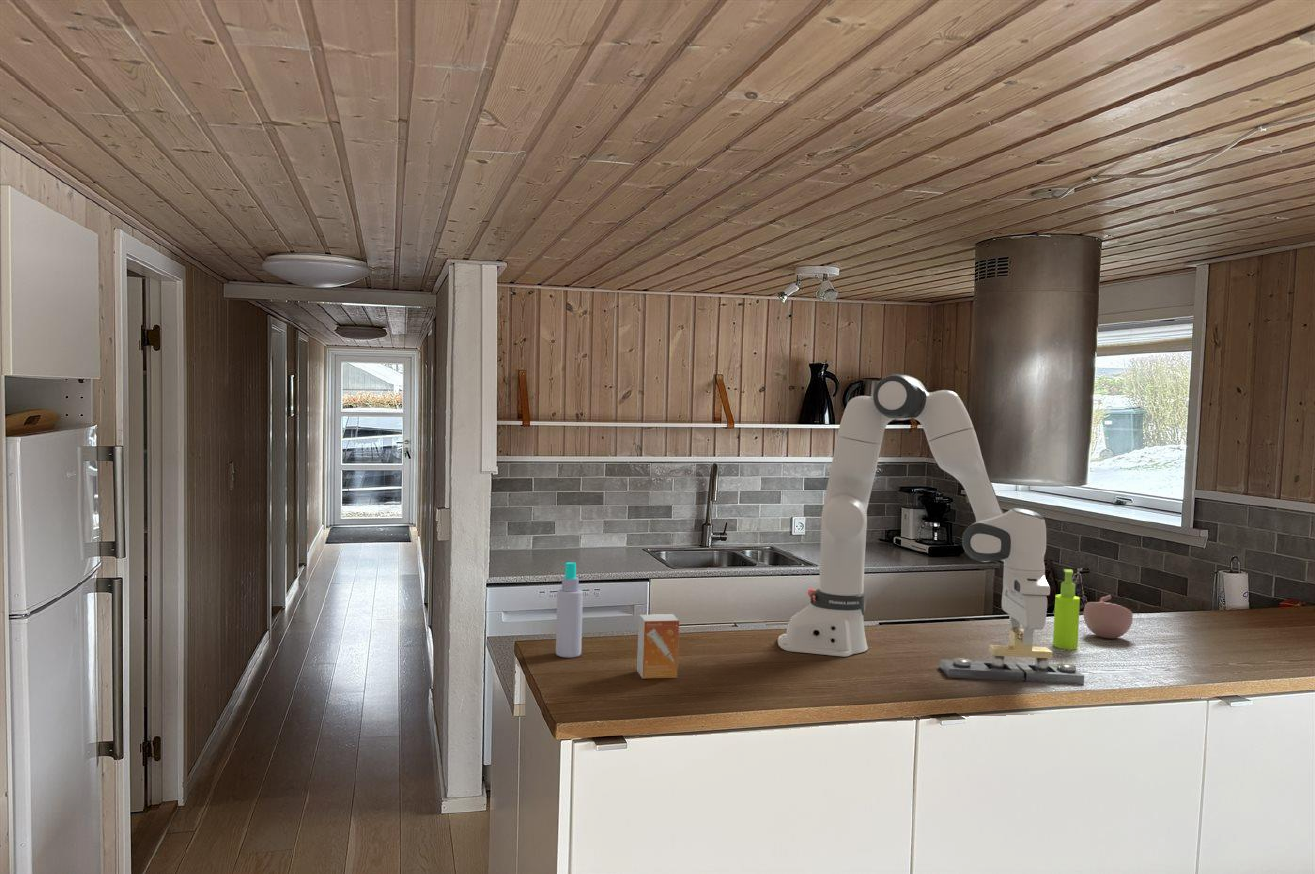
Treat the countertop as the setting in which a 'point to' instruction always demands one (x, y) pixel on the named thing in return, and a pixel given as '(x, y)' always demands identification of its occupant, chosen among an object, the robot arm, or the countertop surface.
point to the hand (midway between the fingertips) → (1020, 639)
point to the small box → (658, 646)
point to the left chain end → (980, 670)
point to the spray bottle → (569, 615)
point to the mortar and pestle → (1107, 618)
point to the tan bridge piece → (1019, 652)
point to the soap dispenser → (1066, 615)
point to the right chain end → (1052, 673)
